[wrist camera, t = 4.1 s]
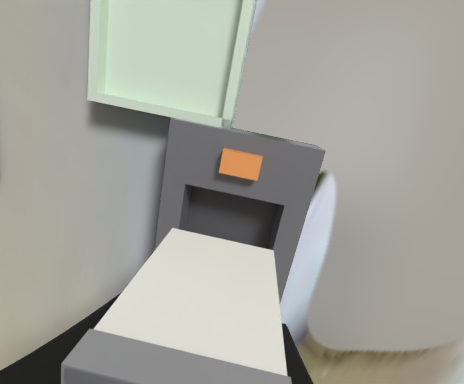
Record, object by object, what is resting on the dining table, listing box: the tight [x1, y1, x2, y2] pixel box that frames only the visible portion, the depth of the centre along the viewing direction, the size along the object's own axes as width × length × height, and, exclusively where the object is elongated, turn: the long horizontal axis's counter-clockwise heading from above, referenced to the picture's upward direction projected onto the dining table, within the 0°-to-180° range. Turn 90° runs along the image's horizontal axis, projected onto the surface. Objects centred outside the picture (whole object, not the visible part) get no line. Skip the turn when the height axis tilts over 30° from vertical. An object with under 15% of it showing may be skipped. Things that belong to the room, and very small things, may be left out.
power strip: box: [154, 118, 325, 304], centre depth 19 cm, size 8×31×3 cm, turn 169°
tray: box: [88, 0, 257, 129], centre depth 14 cm, size 8×8×2 cm
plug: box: [61, 228, 292, 384], centre depth 8 cm, size 4×4×6 cm
